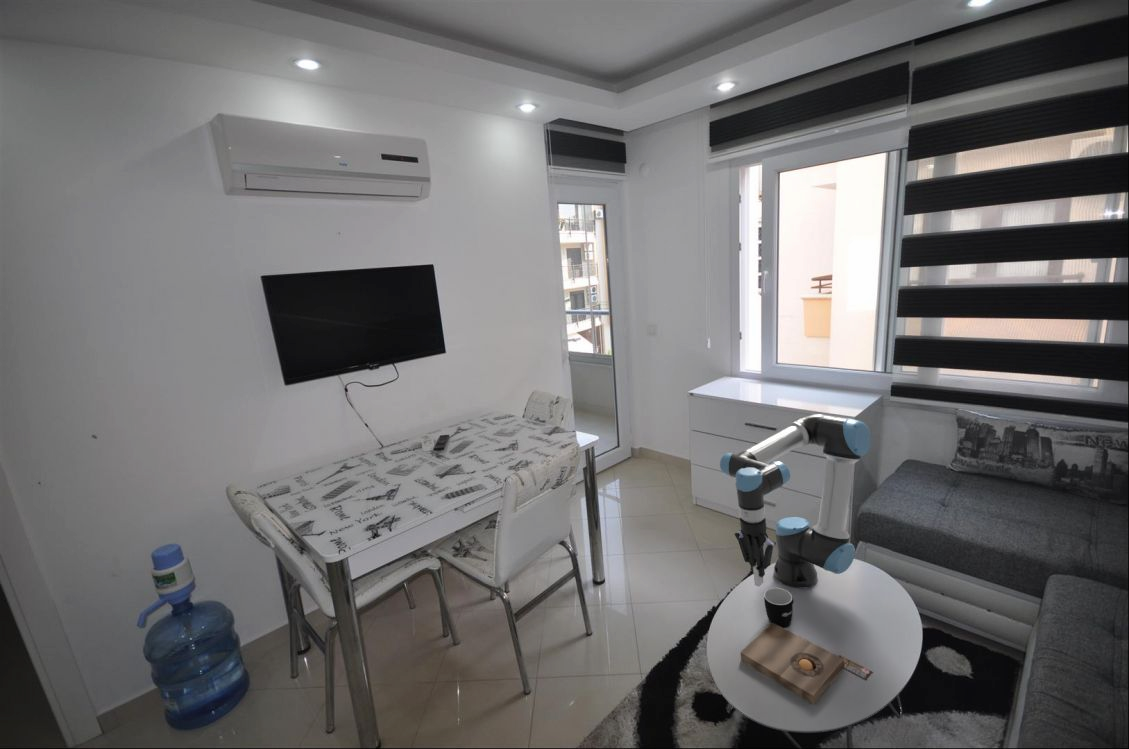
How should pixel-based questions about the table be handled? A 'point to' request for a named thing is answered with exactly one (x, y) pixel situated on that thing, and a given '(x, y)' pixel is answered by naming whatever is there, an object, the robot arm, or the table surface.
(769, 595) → the mug
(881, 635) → the table surface
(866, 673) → the chocolate bar
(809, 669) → the ball
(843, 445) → the robot arm
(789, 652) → the wooden board
